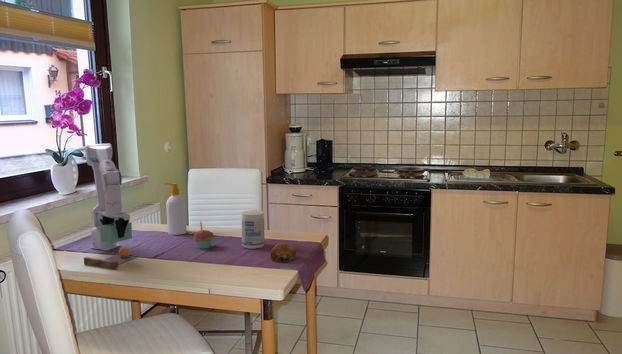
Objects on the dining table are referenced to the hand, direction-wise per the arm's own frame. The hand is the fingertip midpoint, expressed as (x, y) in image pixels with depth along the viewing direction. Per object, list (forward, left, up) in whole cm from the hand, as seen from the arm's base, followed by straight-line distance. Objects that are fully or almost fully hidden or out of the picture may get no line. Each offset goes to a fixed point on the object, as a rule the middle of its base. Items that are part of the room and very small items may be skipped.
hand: (115, 236), depth 182 cm
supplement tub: (+40, +36, -10) cm, 55 cm away
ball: (0, +3, -7) cm, 8 cm away
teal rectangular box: (0, 0, -2) cm, 2 cm away
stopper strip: (0, -8, -9) cm, 12 cm away
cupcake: (+21, +27, -10) cm, 36 cm away
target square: (0, 0, -9) cm, 9 cm away
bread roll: (+59, +26, -10) cm, 65 cm away
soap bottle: (-5, +41, -10) cm, 42 cm away
